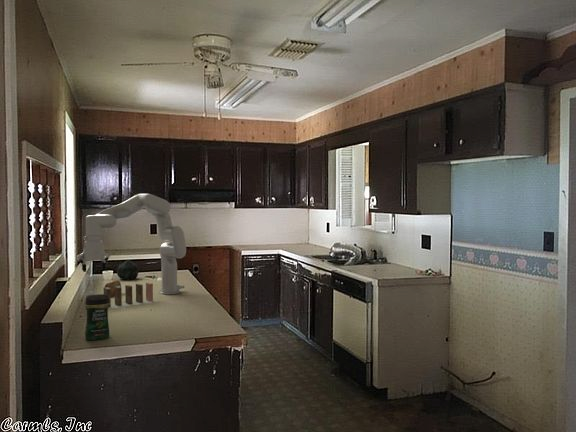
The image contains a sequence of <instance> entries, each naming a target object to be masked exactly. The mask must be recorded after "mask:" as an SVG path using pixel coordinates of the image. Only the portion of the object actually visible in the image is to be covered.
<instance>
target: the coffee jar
mask: <svg viewBox="0 0 576 432" xmlns="http://www.w3.org/2000/svg"><path fill="white" fill-rule="evenodd" d="M84 307H85V309H86V322H85V323H86V324H85V331H84V337H85V340H87V341H98V340H99V341H100V340H105V339H107V338H109V337H110V326H109V325H110V324H109V309H108V307H109V298H108V295H107V294H104V293H103V294H102V293H100V294H91V295H86V297H85V303H84Z"/></svg>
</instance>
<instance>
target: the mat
mask: <svg viewBox="0 0 576 432" xmlns="http://www.w3.org/2000/svg"><path fill="white" fill-rule="evenodd" d="M159 302H160V301H159V300H155V299H154V298H153V301H150V302H149V301H147V300H146V298H143V303H138V302H136V299H134V300H133V299H132V304H127V303H126V301H122V306H117V305H115V302H113V303H112V302H111V307H108V310H111V309H117V308H123V307H124V308H125V307H131V306H137V305H138V306H139V305H145V304H146V305H147V304H152V303H159Z"/></svg>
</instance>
